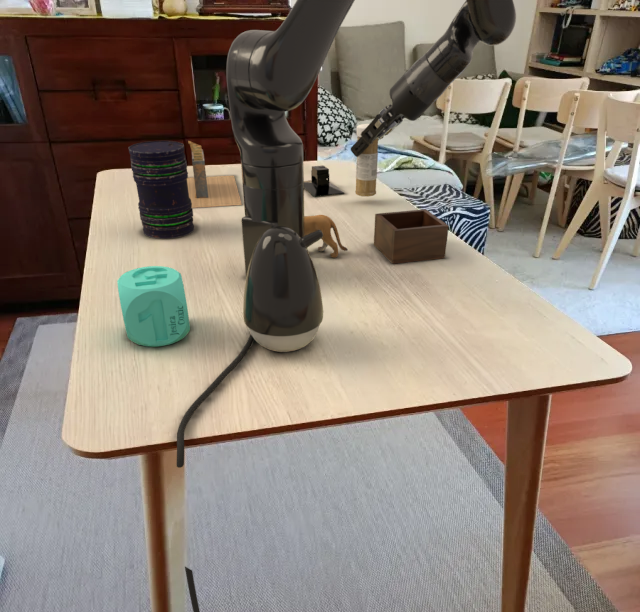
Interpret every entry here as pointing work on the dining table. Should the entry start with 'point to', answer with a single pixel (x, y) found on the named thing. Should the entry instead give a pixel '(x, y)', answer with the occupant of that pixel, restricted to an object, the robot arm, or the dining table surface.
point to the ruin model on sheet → (199, 171)
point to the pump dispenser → (283, 291)
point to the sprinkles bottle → (366, 166)
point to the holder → (410, 236)
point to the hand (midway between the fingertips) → (358, 150)
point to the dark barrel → (162, 188)
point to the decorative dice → (153, 306)
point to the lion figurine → (324, 232)
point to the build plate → (321, 183)
